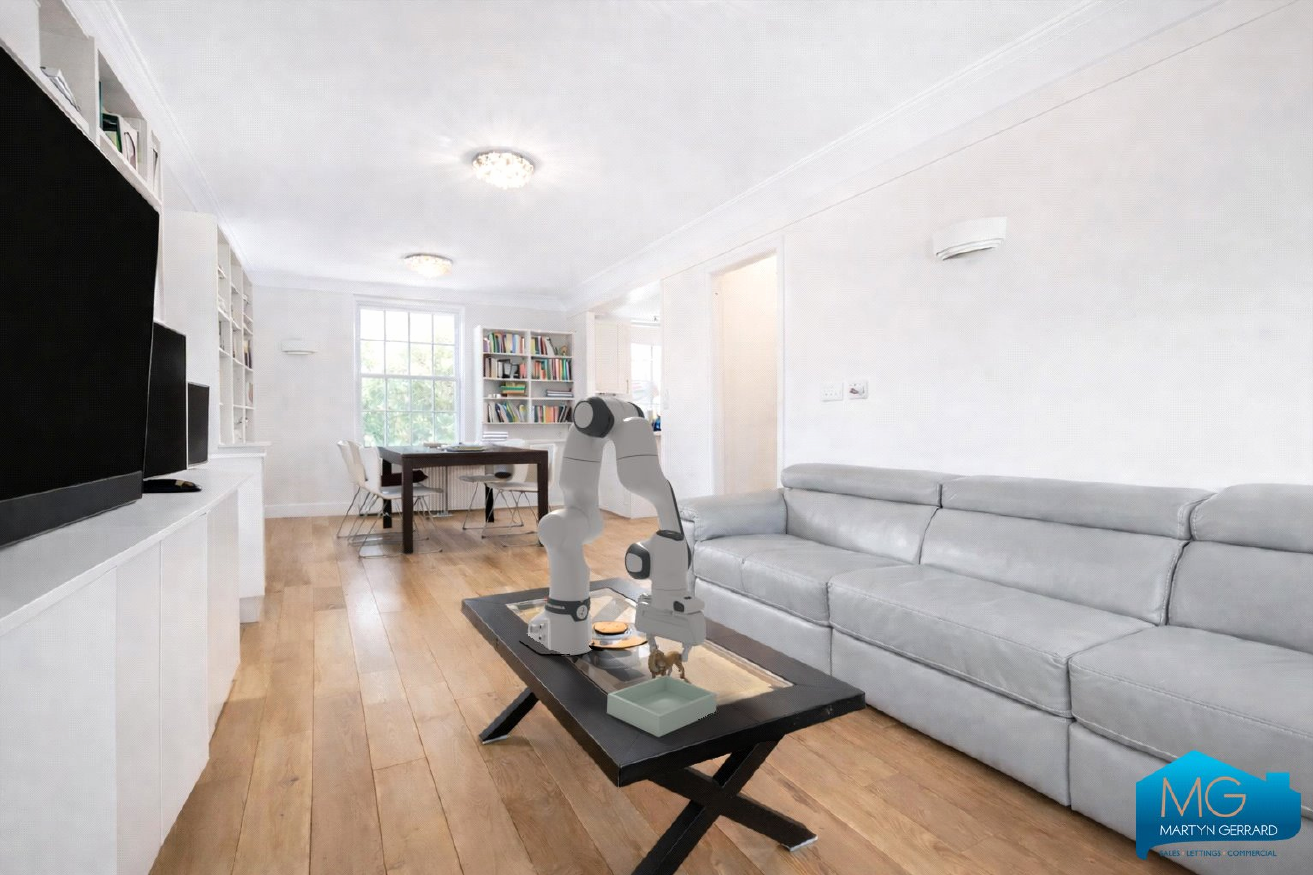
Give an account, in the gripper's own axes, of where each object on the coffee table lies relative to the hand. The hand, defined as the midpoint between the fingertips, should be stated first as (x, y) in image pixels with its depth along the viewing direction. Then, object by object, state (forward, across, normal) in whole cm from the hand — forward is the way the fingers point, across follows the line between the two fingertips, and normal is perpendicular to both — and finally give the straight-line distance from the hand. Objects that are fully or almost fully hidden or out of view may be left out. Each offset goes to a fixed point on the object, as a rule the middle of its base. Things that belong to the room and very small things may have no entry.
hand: (668, 656), depth 152 cm
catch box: (+6, +10, -14) cm, 18 cm away
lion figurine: (+7, -1, 0) cm, 7 cm away
